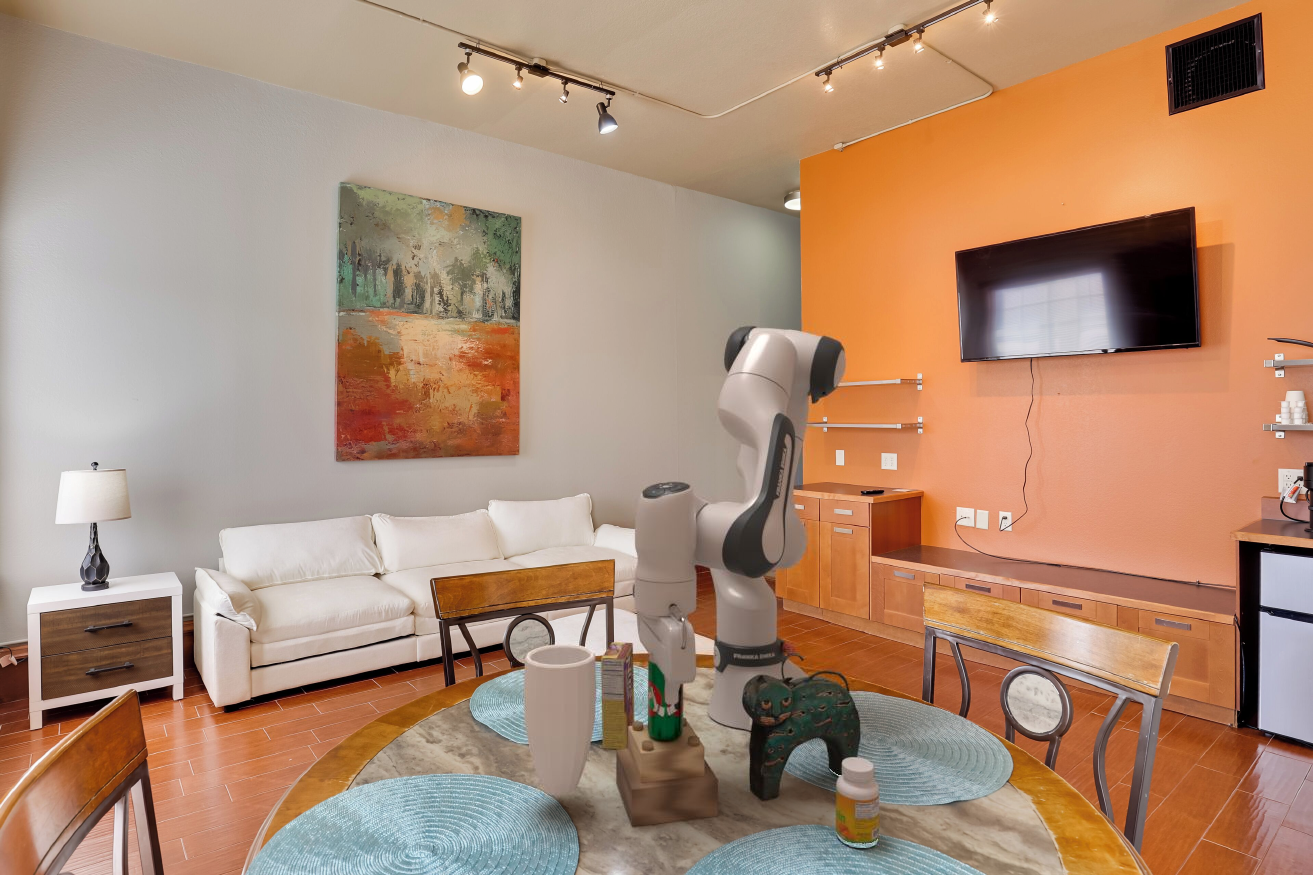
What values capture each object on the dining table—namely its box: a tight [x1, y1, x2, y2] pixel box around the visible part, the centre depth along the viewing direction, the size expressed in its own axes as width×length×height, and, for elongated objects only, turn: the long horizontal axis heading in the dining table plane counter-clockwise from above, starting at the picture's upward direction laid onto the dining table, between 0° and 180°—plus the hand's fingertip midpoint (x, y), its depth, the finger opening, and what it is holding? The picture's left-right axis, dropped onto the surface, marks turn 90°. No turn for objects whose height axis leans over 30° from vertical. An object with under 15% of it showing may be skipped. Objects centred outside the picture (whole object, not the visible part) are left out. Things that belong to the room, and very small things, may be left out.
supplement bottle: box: [835, 756, 880, 844], centre depth 92 cm, size 5×5×10 cm
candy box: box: [600, 641, 636, 750], centre depth 122 cm, size 9×4×15 cm, turn 172°
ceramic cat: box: [742, 652, 862, 802], centre depth 107 cm, size 20×6×20 cm, turn 115°
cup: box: [523, 643, 597, 796], centre depth 99 cm, size 10×10×22 cm
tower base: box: [615, 716, 719, 828], centre depth 102 cm, size 12×12×10 cm
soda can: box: [647, 652, 684, 742], centre depth 102 cm, size 5×5×12 cm
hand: (664, 693), depth 102 cm, fingers open, 5 cm apart
